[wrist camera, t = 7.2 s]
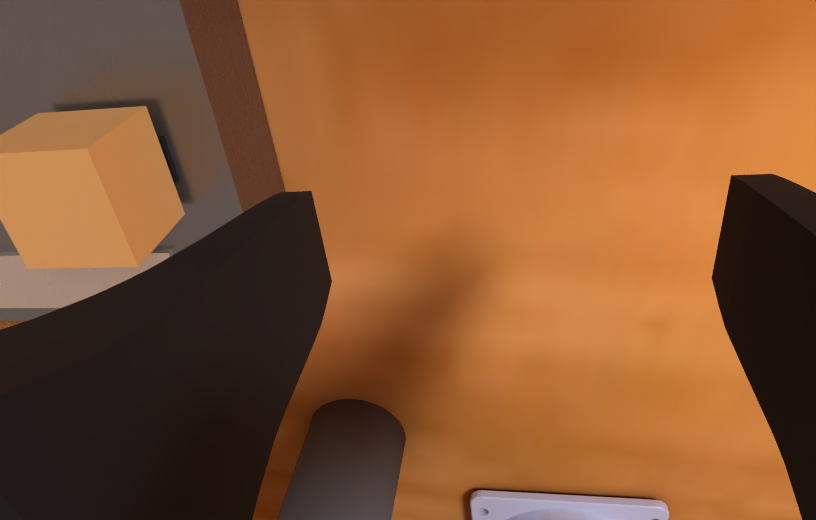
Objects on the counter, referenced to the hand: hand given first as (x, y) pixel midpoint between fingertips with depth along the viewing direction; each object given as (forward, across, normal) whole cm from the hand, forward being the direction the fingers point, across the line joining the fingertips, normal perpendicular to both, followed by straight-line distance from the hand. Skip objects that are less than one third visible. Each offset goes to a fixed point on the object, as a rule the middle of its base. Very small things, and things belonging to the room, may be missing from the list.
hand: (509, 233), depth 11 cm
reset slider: (+4, +10, 0) cm, 11 cm away
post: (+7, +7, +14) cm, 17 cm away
